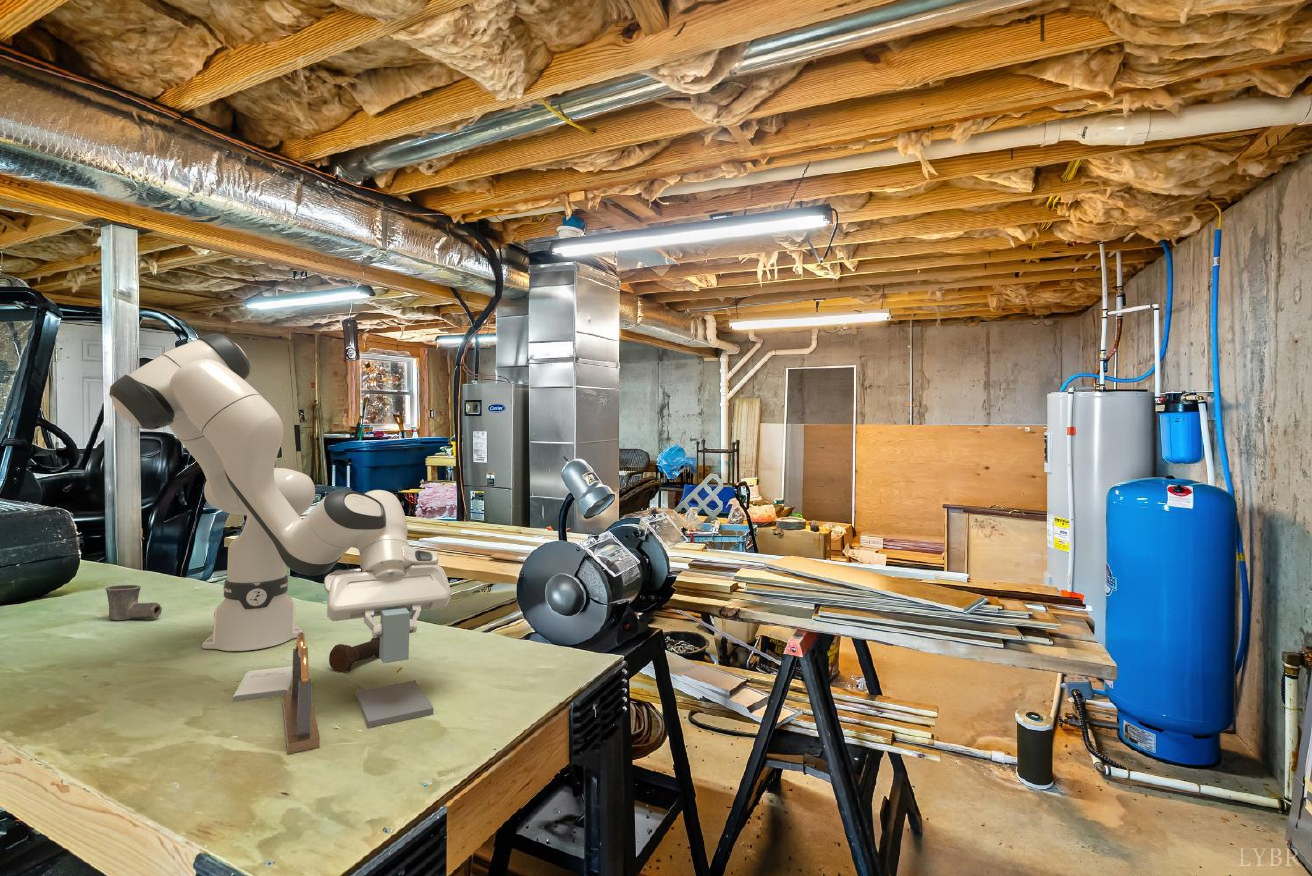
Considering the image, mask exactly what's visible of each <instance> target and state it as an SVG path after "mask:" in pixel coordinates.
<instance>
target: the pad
mask: <svg viewBox="0 0 1312 876" xmlns="http://www.w3.org/2000/svg"><path fill="white" fill-rule="evenodd" d="M355 698H356V701H357V704H358V706H359V708H360V710H361V714H362V716H363V719H364V721H365V723H366V727H367V728H368V729H369V728H375V727H379V726H382V725H387V724H394V723H397V722H402V721H403V722H404V721H407V720H411V719H416V718H417V719H418V718H420V717H421V718H422V717H425V716H430V715H434V706H433V705H432V704H431V702H430V701H429V699H428V697H427V695H426V694H425V693H424V692H423V690H422V689H421V687H420V685H419V684H418V682H417V681H416V680H415V679H414V680H413V679H412V680H409V681H402V682H396V683H391V684H386V685H380V686H374V687H369V688H364V689H358V690H355Z"/></svg>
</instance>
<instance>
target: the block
mask: <svg viewBox="0 0 1312 876" xmlns="http://www.w3.org/2000/svg"><path fill="white" fill-rule="evenodd" d="M410 620H411V613H410V612H409V611H408V610H407V609H406V608H396V609H387V610H381V616H380V622H379V624H383V628H382V629H383V635H382V637H380V649H379V657H378V658H380V660H381V662H382V664H389V663H396V662H401V661H408V660H409V653H410V633H409V629H410Z"/></svg>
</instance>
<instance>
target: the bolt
mask: <svg viewBox="0 0 1312 876" xmlns="http://www.w3.org/2000/svg"><path fill="white" fill-rule="evenodd" d="M379 649H380V637H378V638H373V637H371V639H370V641H366V642H362V643H360V644H357V645H356V644H355V645H352V646H351V645H349V644H343V643H338V644H335V645H334V646H333V647H332V649H331V651H330V652H329V655H328V657H329V658H328V662H329V665H330V668H331V670H332V671H334V672H336V673H348V672H350V671H351V669H352V667H353V666H354V664H356V663H358V662H361V661H364V660H367V659H370V658H373V657H377V658H380V657H379Z"/></svg>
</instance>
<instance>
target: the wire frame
mask: <svg viewBox="0 0 1312 876" xmlns="http://www.w3.org/2000/svg"><path fill="white" fill-rule="evenodd" d="M291 666H292V683H291V692H288V694H284V695H282V710H283V719H284V720H283V721H284V730H285V739H286V741H285V742H286V749H287V755H290V754H295V753H300V752H304V751H308V750H309V751H310V750H313V749H317V748H320V743H321V740H320V739H321V737H320V732H319V727H318V722H317V717H316V714H315V713H316V712H315V708H314V704H313V700H312V684H313V683H312V682H313V680H312V678H311V677H310V669H309V667H310V664H309V648H308V645H307V646H306V638H305V632H304V631H303V632H300V633H298V635H297V637H296V643H295V648H292V665H291Z"/></svg>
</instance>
